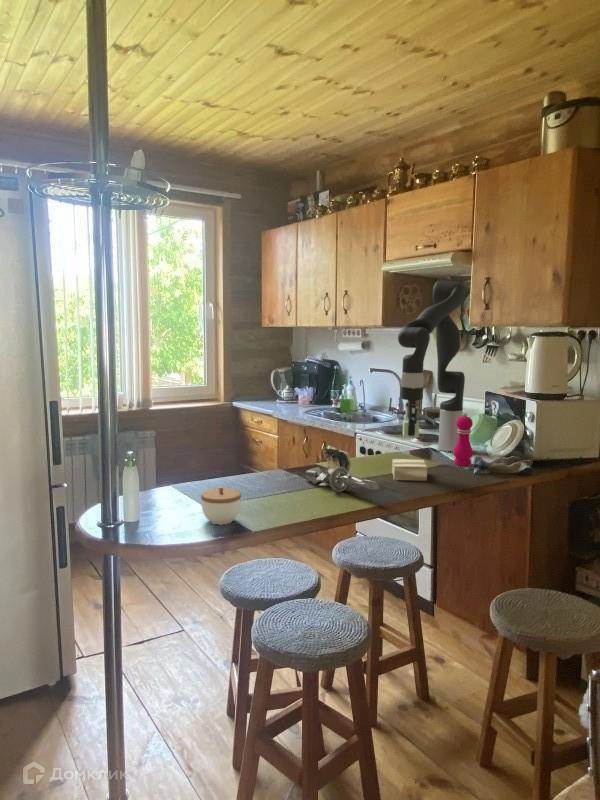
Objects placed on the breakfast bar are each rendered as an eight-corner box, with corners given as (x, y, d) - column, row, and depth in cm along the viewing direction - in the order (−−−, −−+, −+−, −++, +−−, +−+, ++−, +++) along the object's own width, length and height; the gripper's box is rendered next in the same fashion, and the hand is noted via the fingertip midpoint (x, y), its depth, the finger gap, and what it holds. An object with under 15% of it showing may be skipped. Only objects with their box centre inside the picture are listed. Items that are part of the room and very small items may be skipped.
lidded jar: (200, 528, 156) (199, 493, 155) (202, 515, 167) (202, 482, 165) (241, 527, 157) (241, 492, 156) (241, 514, 168) (241, 481, 167)
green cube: (402, 434, 211) (403, 420, 211) (416, 434, 211) (417, 420, 210) (403, 437, 206) (404, 422, 206) (418, 437, 206) (419, 423, 205)
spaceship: (366, 481, 173) (383, 467, 178) (293, 469, 201) (310, 457, 205) (375, 504, 176) (392, 490, 180) (301, 489, 203) (318, 477, 208)
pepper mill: (474, 466, 225) (477, 413, 222) (455, 466, 225) (457, 413, 222) (469, 462, 232) (472, 411, 229) (450, 461, 232) (453, 410, 229)
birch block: (392, 472, 217) (392, 458, 216) (422, 473, 216) (423, 459, 215) (394, 480, 206) (394, 466, 205) (426, 481, 205) (427, 467, 204)
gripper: (399, 383, 214) (398, 430, 216) (402, 387, 200) (401, 437, 202) (420, 383, 213) (419, 430, 215) (425, 388, 199) (423, 438, 201)
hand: (410, 433), depth 209 cm, fingers closed on green cube, 5 cm apart
